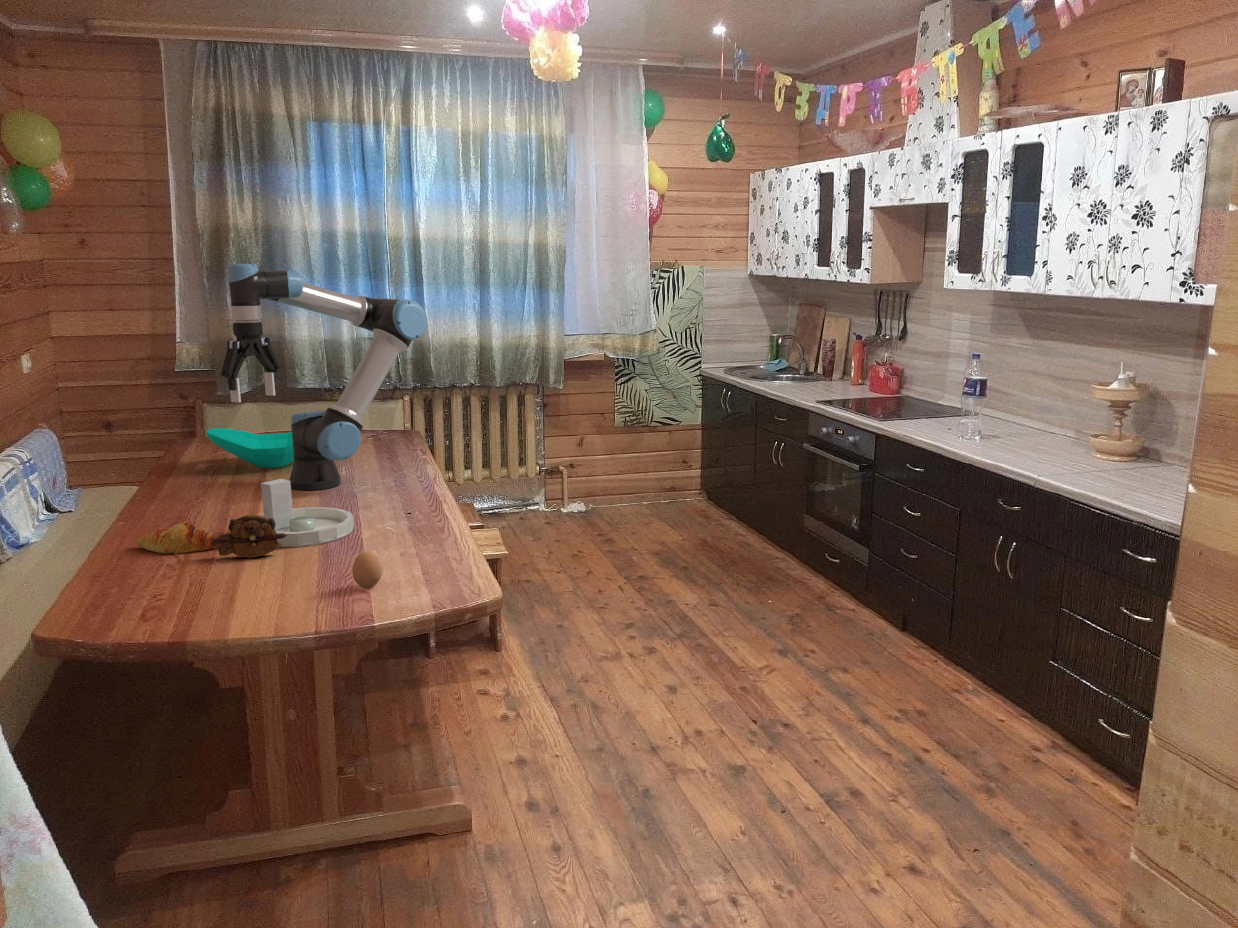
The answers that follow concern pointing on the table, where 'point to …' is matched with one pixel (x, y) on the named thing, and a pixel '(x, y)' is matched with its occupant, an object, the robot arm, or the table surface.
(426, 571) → the table surface
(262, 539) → the wooden carving
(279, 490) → the skincare box
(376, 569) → the egg
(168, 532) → the croissant
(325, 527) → the ring tray
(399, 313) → the robot arm
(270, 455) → the table top decor
